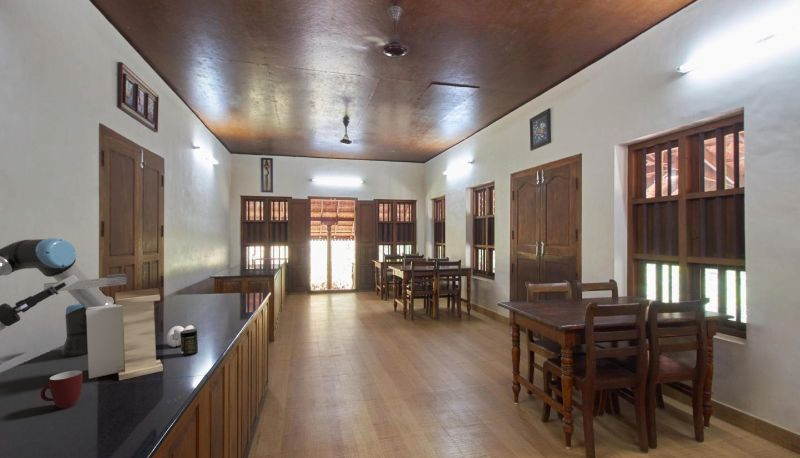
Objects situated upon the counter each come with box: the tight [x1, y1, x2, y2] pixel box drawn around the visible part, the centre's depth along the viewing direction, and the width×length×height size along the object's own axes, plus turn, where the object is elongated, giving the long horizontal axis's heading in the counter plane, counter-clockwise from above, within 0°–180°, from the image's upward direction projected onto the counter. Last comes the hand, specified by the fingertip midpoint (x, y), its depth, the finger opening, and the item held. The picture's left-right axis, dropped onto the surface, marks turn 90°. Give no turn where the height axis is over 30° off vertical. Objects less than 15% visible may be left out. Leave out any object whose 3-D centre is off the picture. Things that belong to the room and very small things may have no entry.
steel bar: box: [43, 273, 128, 292], centre depth 145 cm, size 3×24×4 cm, turn 128°
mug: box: [39, 369, 84, 410], centre depth 121 cm, size 11×8×10 cm
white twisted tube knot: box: [166, 324, 195, 348], centre depth 186 cm, size 11×12×9 cm
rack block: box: [86, 304, 124, 379], centre depth 152 cm, size 8×11×26 cm
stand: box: [114, 287, 164, 381], centre depth 151 cm, size 10×14×32 cm
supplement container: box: [180, 328, 199, 357], centre depth 171 cm, size 7×7×10 cm
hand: (75, 277), depth 143 cm, fingers closed on steel bar, 3 cm apart
